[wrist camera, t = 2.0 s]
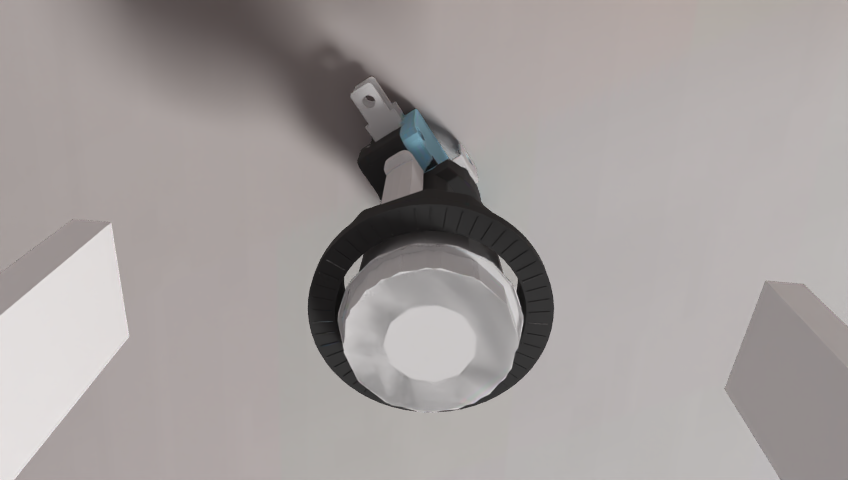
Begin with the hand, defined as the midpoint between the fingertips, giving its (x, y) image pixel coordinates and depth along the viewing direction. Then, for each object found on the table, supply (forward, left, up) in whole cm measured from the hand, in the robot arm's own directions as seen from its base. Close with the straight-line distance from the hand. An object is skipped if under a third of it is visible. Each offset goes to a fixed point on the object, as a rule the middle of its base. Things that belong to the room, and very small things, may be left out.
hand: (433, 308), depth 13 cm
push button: (0, 0, -10) cm, 10 cm away
